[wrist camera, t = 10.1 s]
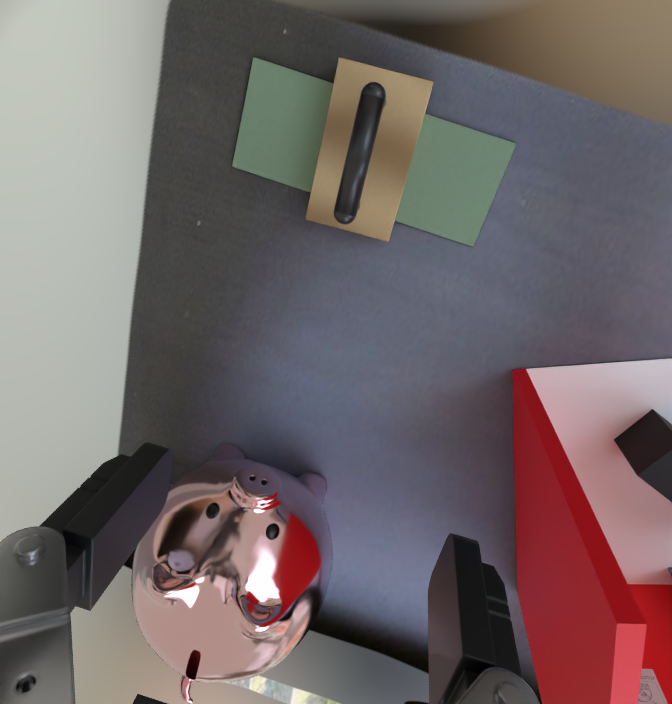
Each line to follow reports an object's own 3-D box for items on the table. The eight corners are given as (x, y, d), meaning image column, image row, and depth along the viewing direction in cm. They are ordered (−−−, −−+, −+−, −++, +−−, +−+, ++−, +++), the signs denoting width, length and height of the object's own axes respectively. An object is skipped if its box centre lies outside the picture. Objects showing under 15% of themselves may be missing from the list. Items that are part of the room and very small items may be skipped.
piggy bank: (370, 448, 43) (346, 605, 28) (314, 586, 50) (272, 767, 36) (203, 390, 43) (94, 517, 29) (171, 537, 51) (73, 696, 36)
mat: (232, 166, 35) (231, 166, 35) (254, 57, 32) (253, 57, 32) (472, 246, 35) (473, 247, 35) (516, 143, 32) (516, 143, 32)
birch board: (389, 238, 36) (384, 256, 30) (309, 216, 36) (289, 230, 30) (433, 84, 31) (436, 71, 26) (342, 60, 32) (325, 43, 26)
